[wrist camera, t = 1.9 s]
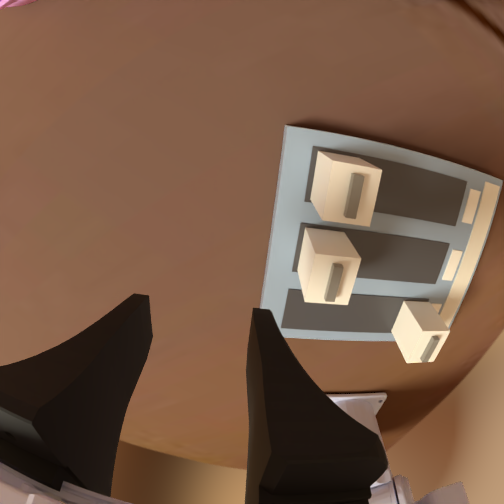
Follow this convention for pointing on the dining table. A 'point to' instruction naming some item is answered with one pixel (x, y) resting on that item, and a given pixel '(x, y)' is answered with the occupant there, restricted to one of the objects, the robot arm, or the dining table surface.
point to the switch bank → (379, 237)
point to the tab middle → (327, 266)
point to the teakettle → (14, 3)
